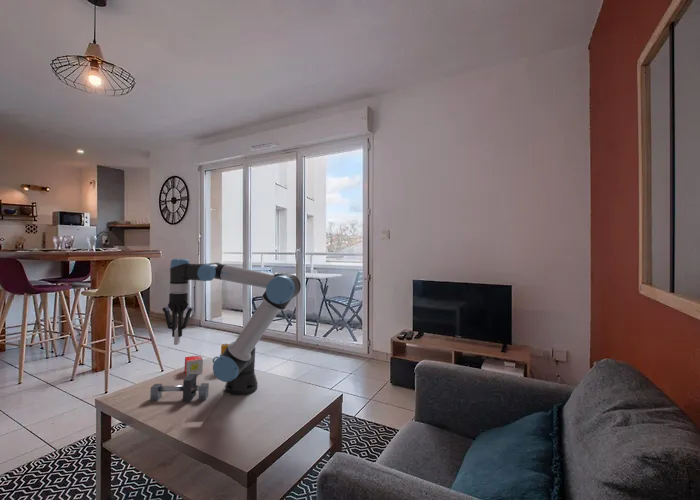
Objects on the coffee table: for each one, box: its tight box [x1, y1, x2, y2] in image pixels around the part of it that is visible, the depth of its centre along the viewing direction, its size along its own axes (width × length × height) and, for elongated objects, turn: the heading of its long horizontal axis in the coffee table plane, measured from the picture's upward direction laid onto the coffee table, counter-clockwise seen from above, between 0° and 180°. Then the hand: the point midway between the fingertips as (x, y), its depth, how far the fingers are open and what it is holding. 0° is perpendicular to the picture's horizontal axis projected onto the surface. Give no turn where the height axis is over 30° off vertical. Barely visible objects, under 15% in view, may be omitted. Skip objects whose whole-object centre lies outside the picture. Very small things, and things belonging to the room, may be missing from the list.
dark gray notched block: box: [182, 374, 198, 403], centre depth 146 cm, size 3×8×10 cm, turn 7°
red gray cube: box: [184, 354, 204, 377], centre depth 180 cm, size 8×8×8 cm
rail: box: [149, 382, 210, 402], centre depth 146 cm, size 23×7×7 cm, turn 97°
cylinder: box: [212, 343, 230, 364], centre depth 183 cm, size 12×10×15 cm
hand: (176, 343), depth 150 cm, fingers closed
